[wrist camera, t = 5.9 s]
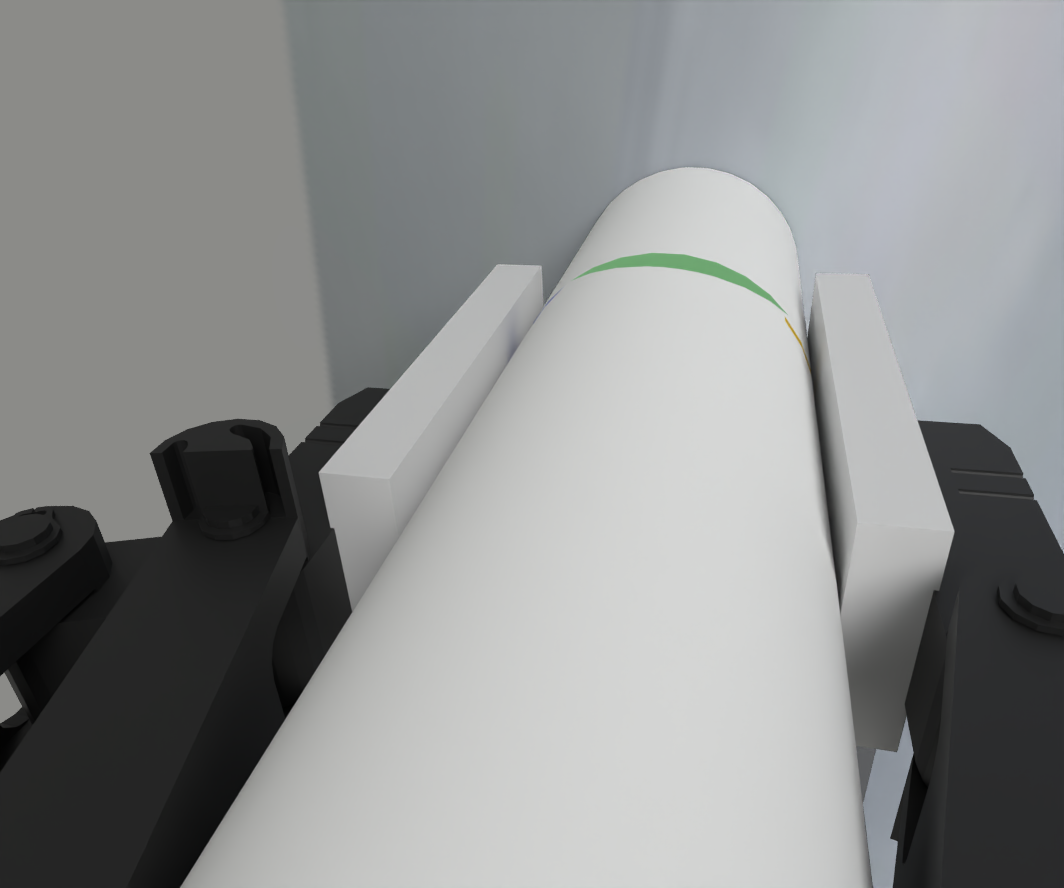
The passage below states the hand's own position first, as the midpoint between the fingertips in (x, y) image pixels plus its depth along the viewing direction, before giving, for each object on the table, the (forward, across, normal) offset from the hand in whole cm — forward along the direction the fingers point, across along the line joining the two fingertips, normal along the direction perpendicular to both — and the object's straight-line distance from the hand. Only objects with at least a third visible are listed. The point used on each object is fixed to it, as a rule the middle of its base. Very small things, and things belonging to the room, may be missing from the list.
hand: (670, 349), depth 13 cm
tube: (+4, 0, 0) cm, 4 cm away
